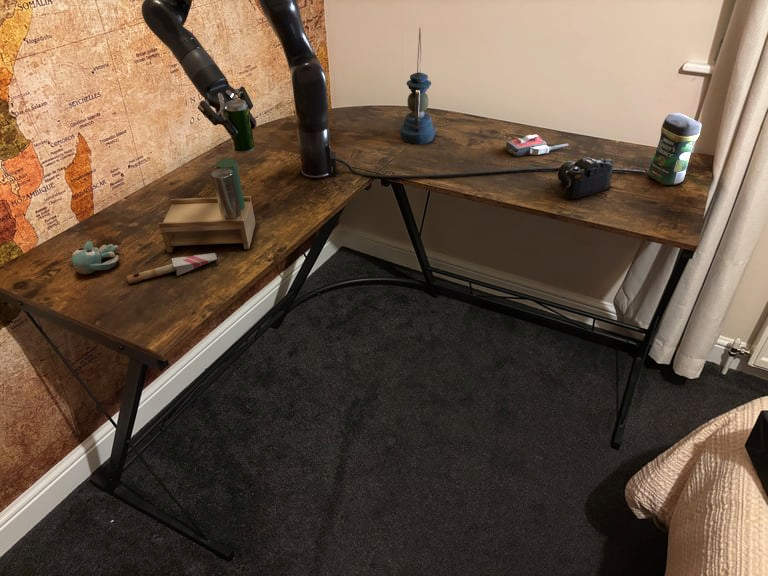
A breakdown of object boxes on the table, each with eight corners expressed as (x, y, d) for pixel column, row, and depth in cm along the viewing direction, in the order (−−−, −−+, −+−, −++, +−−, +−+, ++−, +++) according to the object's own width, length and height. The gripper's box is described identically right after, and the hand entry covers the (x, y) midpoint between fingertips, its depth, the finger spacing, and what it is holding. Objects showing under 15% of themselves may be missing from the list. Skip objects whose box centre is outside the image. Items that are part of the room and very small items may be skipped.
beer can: (238, 155, 138) (229, 108, 131) (230, 148, 142) (221, 102, 134) (258, 150, 140) (250, 103, 133) (250, 143, 144) (241, 97, 137)
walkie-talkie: (515, 160, 173) (569, 150, 178) (517, 147, 170) (572, 136, 175) (501, 149, 179) (553, 139, 185) (502, 136, 177) (555, 127, 182)
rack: (255, 223, 145) (243, 156, 134) (249, 249, 136) (235, 179, 124) (179, 226, 145) (159, 159, 133) (167, 252, 135) (145, 182, 124)
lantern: (402, 129, 194) (403, 21, 172) (436, 130, 193) (440, 21, 171) (397, 145, 183) (397, 32, 161) (433, 147, 182) (438, 33, 160)
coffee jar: (641, 174, 164) (660, 112, 153) (663, 169, 166) (683, 108, 155) (665, 188, 157) (686, 125, 145) (687, 183, 159) (709, 121, 147)
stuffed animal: (130, 234, 132) (90, 253, 122) (135, 262, 135) (96, 282, 125) (95, 227, 135) (53, 244, 125) (100, 253, 138) (60, 272, 128)
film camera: (574, 171, 166) (581, 140, 160) (613, 185, 159) (621, 152, 153) (541, 192, 156) (547, 159, 150) (581, 207, 149) (589, 174, 143)
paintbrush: (216, 255, 129) (126, 279, 123) (219, 264, 130) (130, 289, 125) (213, 246, 131) (125, 270, 126) (216, 256, 133) (129, 279, 128)
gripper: (183, 71, 128) (228, 132, 130) (231, 56, 137) (272, 114, 138) (175, 90, 134) (217, 148, 135) (222, 74, 143) (261, 129, 144)
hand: (245, 130), depth 137 cm, fingers closed on beer can, 5 cm apart
